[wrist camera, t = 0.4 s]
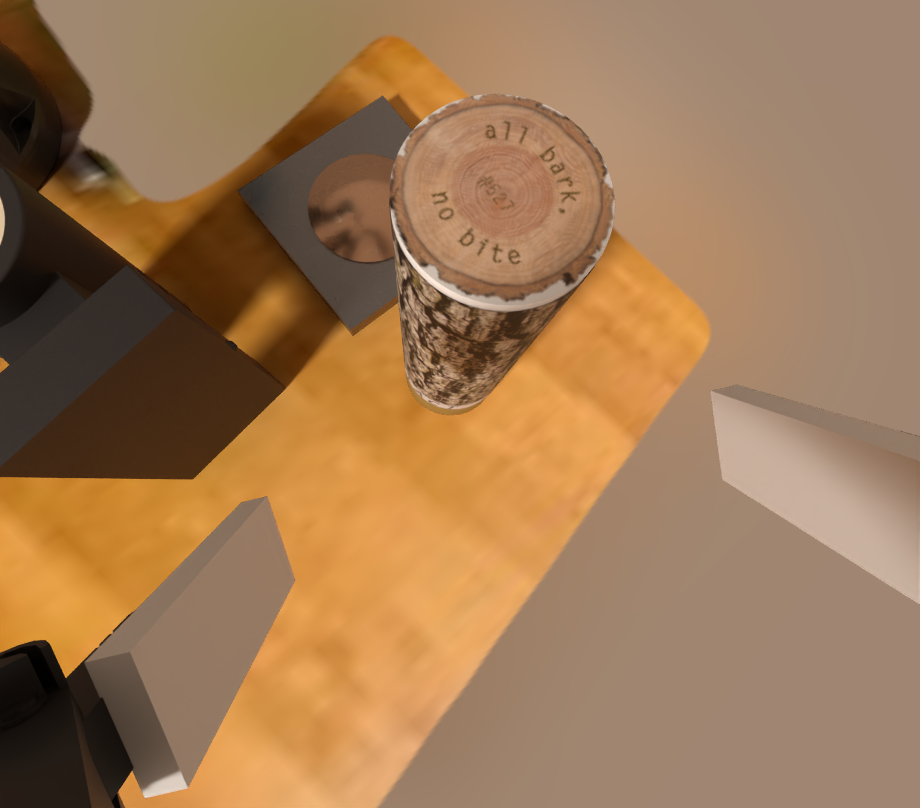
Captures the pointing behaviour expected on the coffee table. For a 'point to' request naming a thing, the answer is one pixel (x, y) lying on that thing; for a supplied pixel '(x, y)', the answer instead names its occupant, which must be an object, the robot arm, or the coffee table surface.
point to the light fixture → (106, 359)
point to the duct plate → (339, 212)
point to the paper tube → (490, 238)
